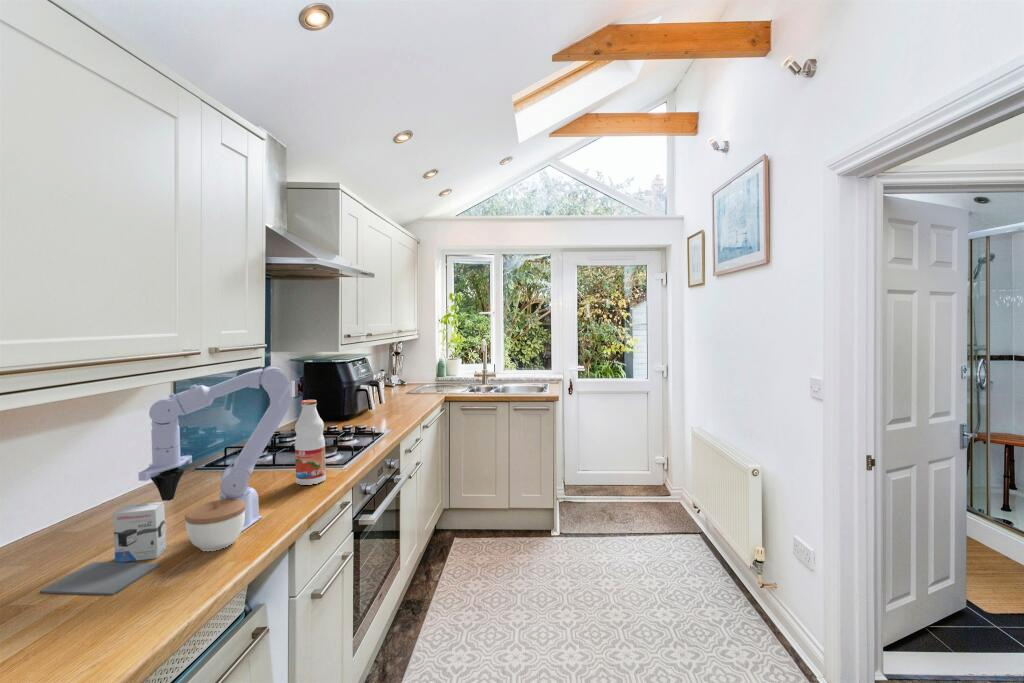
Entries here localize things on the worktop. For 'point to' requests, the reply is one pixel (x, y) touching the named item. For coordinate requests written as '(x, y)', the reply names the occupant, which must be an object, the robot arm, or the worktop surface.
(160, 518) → the ink box
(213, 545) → the lidded bowl
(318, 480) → the fruit juice
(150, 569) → the mat
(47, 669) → the worktop surface
